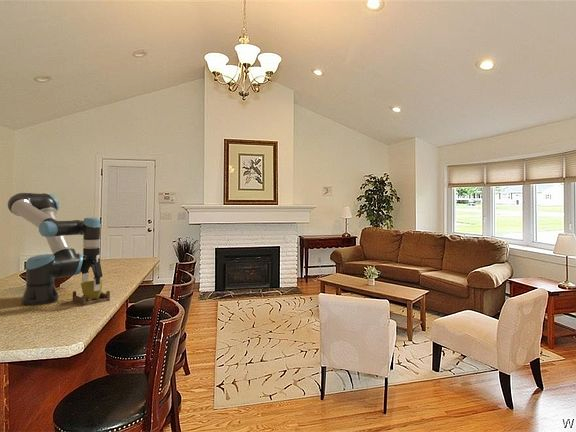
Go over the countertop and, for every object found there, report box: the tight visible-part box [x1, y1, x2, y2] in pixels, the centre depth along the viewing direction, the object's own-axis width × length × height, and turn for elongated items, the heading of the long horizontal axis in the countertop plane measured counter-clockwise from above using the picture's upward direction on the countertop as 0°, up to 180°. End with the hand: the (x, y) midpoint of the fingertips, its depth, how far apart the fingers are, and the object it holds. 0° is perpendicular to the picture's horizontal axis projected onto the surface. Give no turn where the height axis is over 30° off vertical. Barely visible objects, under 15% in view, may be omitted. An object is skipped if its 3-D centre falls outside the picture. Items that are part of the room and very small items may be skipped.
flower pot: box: [80, 279, 103, 300], centre depth 178 cm, size 9×9×9 cm
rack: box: [72, 290, 111, 307], centre depth 179 cm, size 13×13×5 cm
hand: (90, 288), depth 179 cm, fingers open, 13 cm apart
